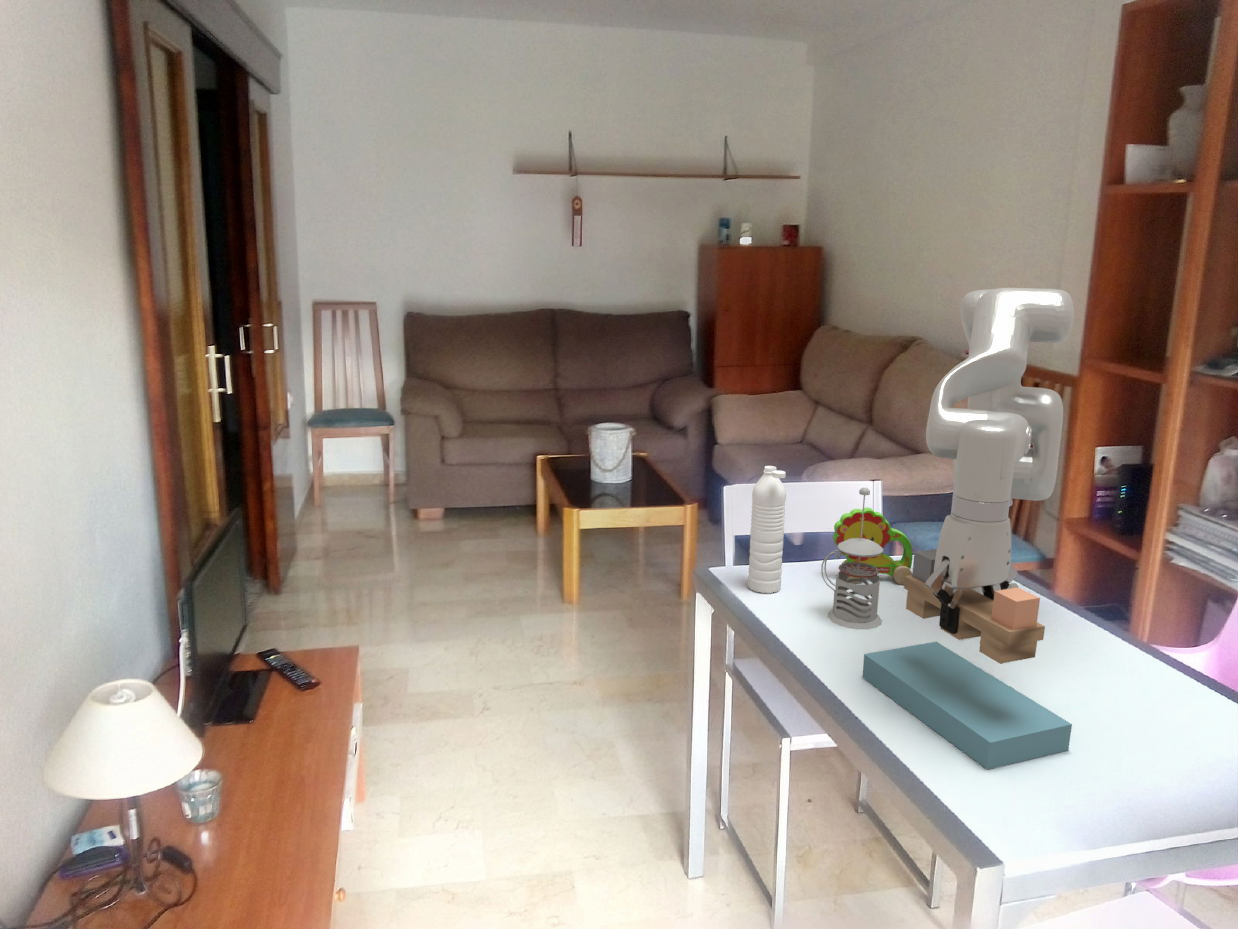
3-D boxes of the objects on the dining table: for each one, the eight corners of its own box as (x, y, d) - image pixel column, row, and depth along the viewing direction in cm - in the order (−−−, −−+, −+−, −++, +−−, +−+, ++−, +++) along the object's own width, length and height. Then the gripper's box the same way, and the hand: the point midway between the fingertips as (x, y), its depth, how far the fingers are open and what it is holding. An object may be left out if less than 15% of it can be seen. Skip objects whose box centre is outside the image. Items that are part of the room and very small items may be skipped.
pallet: (933, 601, 146) (936, 571, 145) (1040, 660, 126) (1045, 626, 125) (901, 606, 144) (904, 576, 143) (1005, 667, 124) (1009, 632, 123)
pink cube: (1014, 614, 129) (1017, 587, 128) (1036, 625, 125) (1040, 598, 124) (991, 618, 127) (994, 591, 126) (1013, 629, 124) (1016, 601, 123)
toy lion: (906, 576, 193) (912, 506, 189) (912, 586, 187) (919, 514, 184) (828, 573, 194) (833, 503, 190) (832, 583, 188) (837, 511, 185)
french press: (873, 633, 165) (884, 498, 159) (810, 619, 171) (819, 488, 165) (889, 615, 173) (900, 485, 167) (828, 602, 179) (837, 476, 173)
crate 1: (933, 573, 144) (935, 548, 143) (950, 582, 140) (953, 557, 139) (912, 576, 143) (914, 551, 142) (929, 585, 139) (931, 560, 138)
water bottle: (743, 583, 188) (748, 463, 182) (773, 581, 189) (779, 461, 183) (758, 599, 180) (765, 474, 173) (790, 597, 181) (797, 472, 175)
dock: (934, 663, 153) (936, 641, 152) (1068, 750, 128) (1072, 724, 127) (862, 677, 149) (864, 654, 148) (987, 769, 123) (990, 742, 122)
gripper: (1008, 496, 137) (995, 610, 141) (912, 506, 131) (901, 625, 135) (1048, 510, 130) (1032, 629, 135) (948, 521, 124) (935, 646, 129)
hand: (967, 626), depth 135 cm, fingers closed on pallet, 6 cm apart
